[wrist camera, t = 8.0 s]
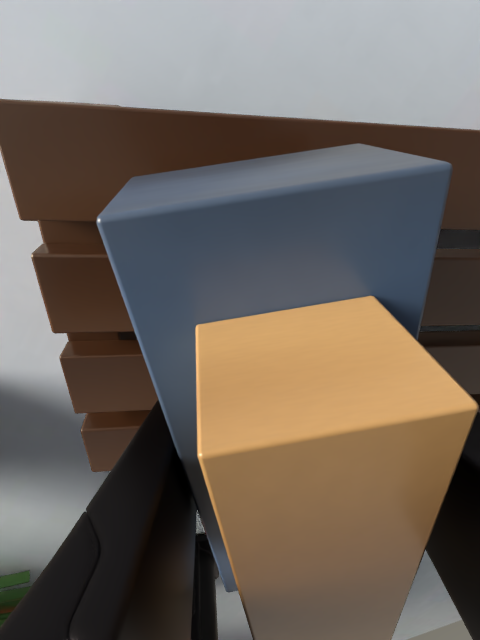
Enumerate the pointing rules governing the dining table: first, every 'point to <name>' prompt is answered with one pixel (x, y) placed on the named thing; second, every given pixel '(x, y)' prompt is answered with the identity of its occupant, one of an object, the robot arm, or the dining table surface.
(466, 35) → the dining table surface
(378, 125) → the shoe rack
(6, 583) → the daffodil flowers
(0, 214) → the dining table surface
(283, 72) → the dining table surface
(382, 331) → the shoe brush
